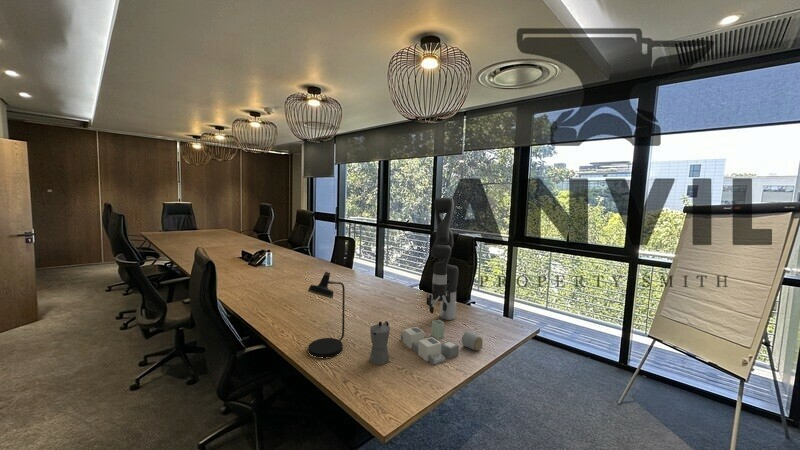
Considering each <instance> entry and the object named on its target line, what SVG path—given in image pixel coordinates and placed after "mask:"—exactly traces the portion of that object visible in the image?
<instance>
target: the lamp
mask: <svg viewBox="0 0 800 450" xmlns="http://www.w3.org/2000/svg"><path fill="white" fill-rule="evenodd" d="M330 277H331V273H330V272H328V271H324V273H323V276H322V278H321V280H320V282H319V284H318V285H315V284H311V285H310V286H309V288H308V289H307V292H308V293H310V294H314V295H318V296H321V297H325V298H329V299H332V300H333V299H334V294H335V293H334V292H335V291H333V290H331V289H329V287H328V285H341V289H342V306H341V307H342V315H341V316H342V317H341V319H342V320H341V322H342V323H341V324H342V325H341V326H342V327H341V328H342V329H341V331H342V332H341V337H340V338H339V339H338V338H333V337H322V338H319V339H314V341H312V342H311V343H309V345H308V350H307V352H308V351H309V353H310V354H311V355H313V356H316V357H323V358H326V357H332V356H335V355H337V354H339V353H340V352H341V351H342V352H343V350H344V348H343V342H342V340H343V339H344V337H345V297H346V296H345V295H346V294H345V285H344V283H343V282H341V281H333V280H330ZM342 349H343V350H342ZM342 352H341V353H342ZM309 353H308V354H309ZM341 353H340V354H341ZM340 354H339V355H340ZM337 356H338V355H337ZM335 357H336V356H335ZM332 358H333V357H332Z"/></svg>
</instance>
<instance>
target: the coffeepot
mask: <svg viewBox="0 0 800 450" xmlns="http://www.w3.org/2000/svg"><path fill="white" fill-rule="evenodd" d="M389 323H390V322H388V321H387V320H386V321H384V322H382V321H378V324H377V323H376V324H373V325H371V326H370V327H369V328H370V339H371V344H372V345H371V351H370V356H369V357H370V358H369V362H370V363H371V364H372V365H375V366H383V365H386V364H388V363H389V362H390V361H389V360H390V356H389V348H388V343H389V336H390V331H391V327H390V324H389Z"/></svg>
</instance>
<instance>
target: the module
mask: <svg viewBox="0 0 800 450" xmlns="http://www.w3.org/2000/svg"><path fill="white" fill-rule="evenodd" d="M431 337H433V338H434V339H436V340H438V339H442V338H443V339H444V337H445V322H443V321H442V320H440V319H436V320H432V321H431Z"/></svg>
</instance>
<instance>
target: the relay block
mask: <svg viewBox="0 0 800 450" xmlns="http://www.w3.org/2000/svg"><path fill="white" fill-rule="evenodd" d="M459 350H460V345H459V344H457V343H455V342H453V341H451V340H447V341H445V342H443V343H442V342H441V355H443V356H444V357H445V358H447V359H450V360H451V359H453V358H455V357H458V356H459Z"/></svg>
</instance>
